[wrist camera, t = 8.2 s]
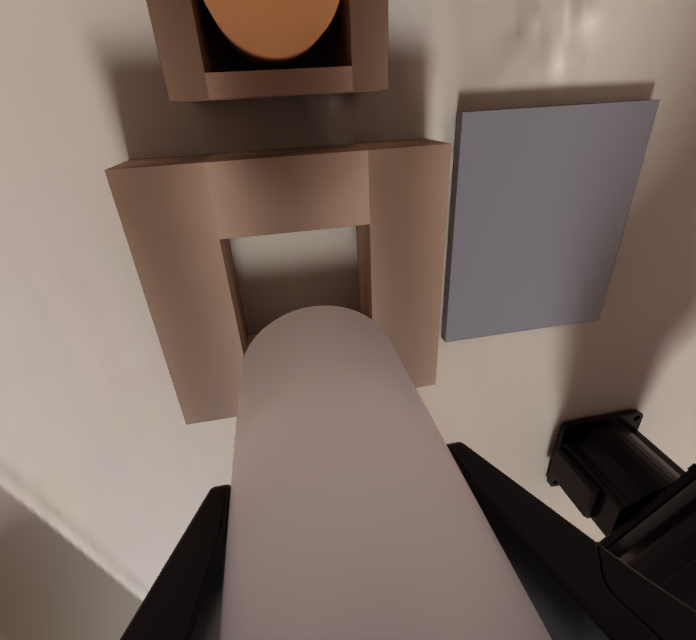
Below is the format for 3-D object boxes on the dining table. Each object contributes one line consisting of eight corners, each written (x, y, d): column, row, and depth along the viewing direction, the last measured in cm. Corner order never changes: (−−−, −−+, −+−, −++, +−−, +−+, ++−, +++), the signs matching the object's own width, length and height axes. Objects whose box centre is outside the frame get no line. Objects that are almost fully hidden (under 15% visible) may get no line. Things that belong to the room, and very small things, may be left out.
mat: (649, 99, 20) (659, 99, 19) (591, 315, 26) (598, 319, 25) (456, 112, 18) (462, 112, 18) (441, 337, 24) (445, 342, 24)
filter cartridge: (395, 295, 12) (728, 770, 3) (395, 421, 15) (590, 888, 6) (225, 317, 11) (113, 974, 3) (254, 445, 14) (240, 1014, 5)
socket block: (433, -98, 15) (493, -170, 11) (416, 354, 24) (446, 402, 21) (52, -102, 13) (-36, -189, 9) (195, 387, 23) (181, 446, 19)
